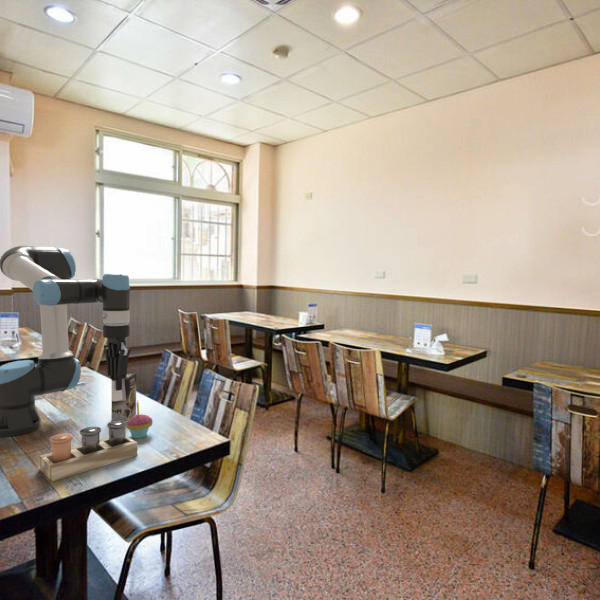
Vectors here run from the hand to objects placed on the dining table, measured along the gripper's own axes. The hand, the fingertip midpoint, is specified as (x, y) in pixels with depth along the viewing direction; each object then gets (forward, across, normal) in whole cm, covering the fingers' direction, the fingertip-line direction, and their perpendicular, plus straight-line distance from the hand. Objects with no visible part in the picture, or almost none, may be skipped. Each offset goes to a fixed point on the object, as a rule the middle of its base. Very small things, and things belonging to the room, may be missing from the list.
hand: (117, 399), depth 132 cm
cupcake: (+17, -9, +12) cm, 23 cm away
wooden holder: (+17, 0, -8) cm, 19 cm away
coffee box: (+17, -31, +17) cm, 39 cm away
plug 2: (+14, 0, 0) cm, 14 cm away
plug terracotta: (+14, 0, -16) cm, 21 cm away
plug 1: (+14, 0, -8) cm, 16 cm away
